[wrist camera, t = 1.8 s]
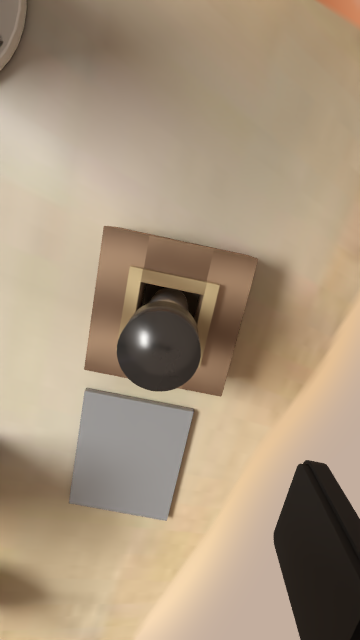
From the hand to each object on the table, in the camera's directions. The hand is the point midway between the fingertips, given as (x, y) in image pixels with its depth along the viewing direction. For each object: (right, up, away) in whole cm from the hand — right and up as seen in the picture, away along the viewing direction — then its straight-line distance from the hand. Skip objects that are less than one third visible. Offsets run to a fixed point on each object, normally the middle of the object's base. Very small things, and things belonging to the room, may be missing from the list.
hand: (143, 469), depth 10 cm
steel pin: (0, +6, +20) cm, 21 cm away
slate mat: (-4, -10, +24) cm, 27 cm away
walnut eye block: (0, +6, +20) cm, 21 cm away
